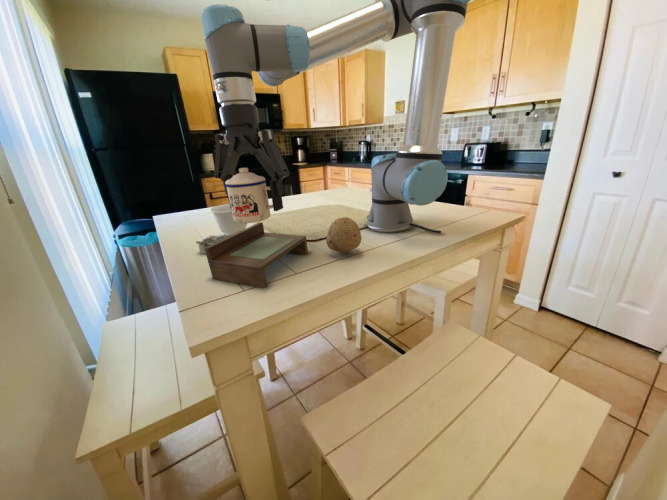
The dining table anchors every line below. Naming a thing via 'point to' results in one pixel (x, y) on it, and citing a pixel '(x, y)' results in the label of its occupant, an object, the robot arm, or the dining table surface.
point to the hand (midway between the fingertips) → (256, 208)
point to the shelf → (251, 254)
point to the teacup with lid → (248, 197)
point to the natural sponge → (343, 235)
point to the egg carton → (210, 242)
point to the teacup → (227, 220)
